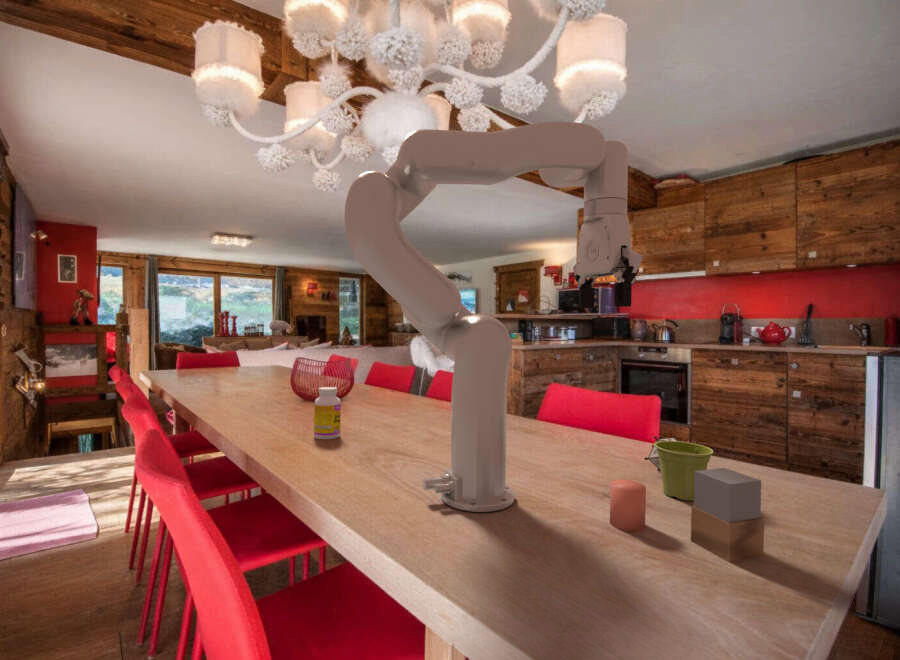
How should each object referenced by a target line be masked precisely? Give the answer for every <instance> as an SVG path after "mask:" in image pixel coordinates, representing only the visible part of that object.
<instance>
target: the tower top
mask: <svg viewBox="0 0 900 660" xmlns="http://www.w3.org/2000/svg"><path fill="white" fill-rule="evenodd" d="M761 502H762V480H761V479H759V478H755V477H753V476H750V475H746V474H743V473H741V472H739V471H734V470H732V469H729V468H727V467H721V468H719V467H718V468H711V469H710V468H709V469H707V470H699V471H695V475H694V501H693V506H694V507H696V508H698V509H700V510H702V511H705V512H707V513H709V514H711V515H713V516H715V517H717V518H720V519H722V520H724V521H726V522H728V523H732V522H738V521H745V520H751V519H757V518H760V517H761V511H762V510H761V509H762V507H761V504H762V503H761Z"/></svg>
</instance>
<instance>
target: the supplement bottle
mask: <svg viewBox="0 0 900 660" xmlns="http://www.w3.org/2000/svg"><path fill="white" fill-rule="evenodd" d="M318 394H319V396H318V397H317V398H315V400H314V417H313V418H314V419H313V421H314V423H313V425H314V426H313V435H314V438H316V439H318V440H334V439H337V438H339V437H340V436H341V415H342V414H341V408H342V407H341V406H342V405H341V404H342V403H341V402H342V401H341V399H340V398H339V397H338V396H337V395H338V388H337V387H336V386H324V387H323V386H322V387H318Z"/></svg>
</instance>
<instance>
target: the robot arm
mask: <svg viewBox="0 0 900 660" xmlns="http://www.w3.org/2000/svg"><path fill="white" fill-rule="evenodd" d="M628 169H629V151H628V148H627V145H626V144H625V143H623V142H621V141H618V140H606V139H605V137H604V135H603V132H601V130H599V129H598V128H596V127H595V126H592V125H591V124H588V123H583V122H574V121H559V120H557V121H541V122H535V123H530V124H526V125H519V126H516V127H511V128H506V129H502V130H496V131H471V130H470V131H469V130H453V129H452V130H451V129H431V128H430V129H428V128H427V129H425V128H424V129H416V130H414V131H412V132H409V133H408V134H407V135H406V136H405V137H404V139H403V141H402V142H401V145H400V146H399V150H398V154H397V157H396V159H395V161H394V162H393V163H392V165H390V167H389V168H388V169H386V171H385V172H383V173H382V172H380V171H375V170H371V171H369V170H368V171H366V172H363V173H361V174H360V175H358V176H357V177H356V178H355V179H354V181H353V182H352V183H351V185H350V187H349V190H348V192H347V196H346V198H345V199H346V200H345V205H344V229H345V234H346V236H347V240H348V243H349V246H350V249H351V251H352V253H353V254H354V257H355V259H356V260H357V262H358V263H359V265H361V267H362V268H363V269H364V271H366V272H367V274H368V275H369V276H371V278H372V279H373V280H374V281H375V282H376V283H377V284H378V285H380V287H382V289H383V290H384V291H385V292H386V293H387V294H388V295H390V296H391V297H392V299H394V300H395V301H396V302H397V303H398V304H399V306H400V308H401V311H402V314H403V316H404V317H405V320H407V321H408V322H409V323H410V325H412V326H413V328H414V329H416V330H417V332H418V333H420V334H421V335H422V336H423V337H425V338H426V339H427V340H428V341H429V342H430V343H431V344H433V346H435V347H436V348H437V349H438V350H439V351H440V352H441V353H443V354H444V355H445V356H446V357H447V358H449V359H450V360H451V361H453V362H454V363H453V373H452V383H451V401H450V403H451V404H450V405H451V406H450V407H451V425H450V426H451V427H450V429H451V431H450V468H446V469H445V471H444V473H445V474H441V475H440V477H424V478H423V479H422V487H423V490H424V491H428V490H429V491H430V490H434V493H435V494H440V497H441V500H442V501H443V502H444V503H445V504H446V505H447V506H450V507H451V508H454V509H457V510H461V511H464V512H465V511H466V512H475V513H490V512H497V511H500V510H501V511H502V510H504V509H506V508H509V507H510V506H512V505H513V504H514V501H515V492H514V490H513V489H512V488H511V487H509V486H508V485H506V475H507V474H506V473H507V471H506V470H507V469H506V468H507V423H508V422H507V419H508V417H507V416H508V415H507V414H508V411H507V410H508V407H507V403H508V401H507V400H508V381H509V373H510V367H511V360H512V350H513V348H512V347H513V346H512V339H511V334H510V333H509V331H508V329H507V327H506V326H505V324H504V323H502V322H501V320H499V319H497V318H495V317H493V316H491V315H487V314H474V313H472V312H471V311H470V310H469V308H467V307H466V306H465V305H464V304H463V303H462V295H461V292H460V290H459V289H458V287H457V285H456V284H455V283H454V282H453V281H452V279H450V278H449V277H448V276H446V275H445V274H444V273H443V272H442V271H440V270H439V268H437V267H436V266H435V265H434V264H433V263H432V262H431V261H430V260H428V259H427V257H425V256H424V255H423V254H422V253H421V252H420V251H419V250H418V249H417V248H416V247H415V246H414V245H413V244H412V243H411V241H410V240H409V239H408V238H407V237H406V235H405V234H404V232H403V230H402V227H401V223H402V221H404V219H406V218H407V217H408V216H409V215H410V214H411V213H412V212H413V211H415V209H416V208H417V207H419V205H420V204H421V203H422V202H423V201H424V200H425V199H426V198H427V197H428V196H429V195H430V194H431V193H432V192H433V190H434V189H435V188H436V187H437V185H473V186H474V185H480V186H481V185H482V186H483V185H484V186H490V185H495V184H498V183H503V182H506V181H509V180H510V179H513V178H515V177H517V176H520V175H523V174H526V173H529V172H533V171H538V174H539V176H540V179H541V180H542V182H544V183H545V184H546V185H547V186H549V187H553V188H556V189H558V188H560V189H564V188H565V189H566V188H576V187H583V223H582V224H581V227H580V232H579V236H578V244H577V254H576V255H577V257H576V263H575V264H574V265H573V266H572V271H573V275H574V280H575V281H576V283H577V284H576V285H577V288H578V290H579V291H578V295H579V296H578V308H579V309H594V308H595V305H596V304H595V299H596V298H595V296H596V295H595V294H596V291H595V289H596V287H593V286H594V284H595V282H596V280H597V278H601V277H603V278H604V277H610V276H614V279H616V281H617V282H615V283H614V290H613V291H614V294H613V295H614V298H613V301H614V306H615V307H623V308H626V307H627V308H628V307H629V308H630V307H632V288H633V287H632V285H633V284H634V283H635V280H636V276H637V275H638V273H639V271H640V267H641V266H640V265H642V264H641V263H642V261H643V255H642V254H641V253H639V252H637V251H634V250H633V246H632V234H631V233H632V232H631V231H632V230H631V225H630V221H629V220H630V219H629V217H628V187H629V186H628V177H629V176H628V175H629V174H628V173H629V171H628ZM588 278H589V279H588Z"/></svg>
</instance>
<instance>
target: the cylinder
mask: <svg viewBox="0 0 900 660" xmlns="http://www.w3.org/2000/svg"><path fill="white" fill-rule="evenodd" d="M609 497H610V499H609V500H610V501H609V502H610V503H609V524H610V526H612V527H613V528H615V529H617V530H620V531H623V532H627V533H640V532H642V531H644V530H645V529H646V509H647V508H646V507H647V506H646V503H647V501H646V499H647V487H646V486H645V485H644V484H643V483H641V482H638V481H635V480H629V479H615V480H612V481H610V496H609Z"/></svg>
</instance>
